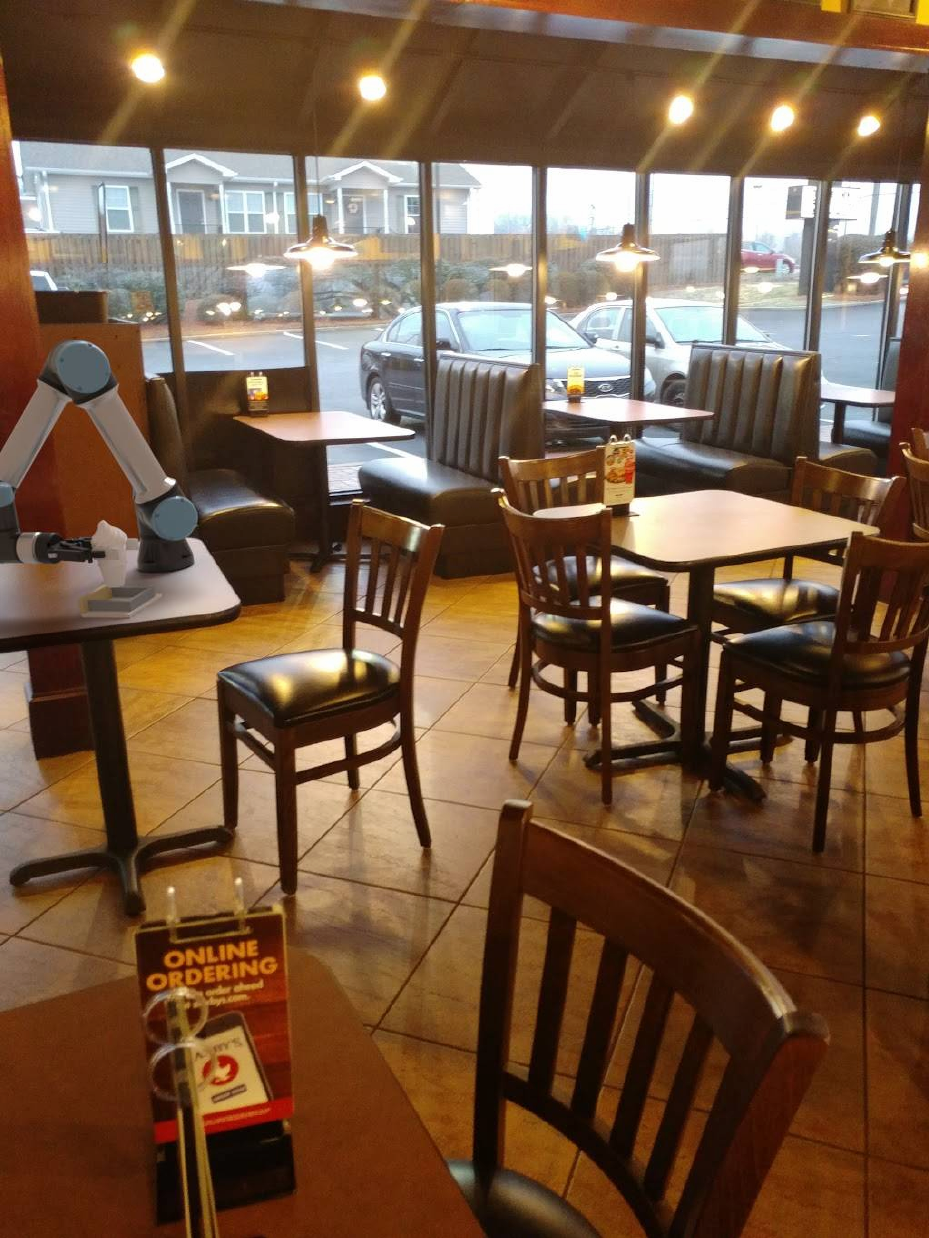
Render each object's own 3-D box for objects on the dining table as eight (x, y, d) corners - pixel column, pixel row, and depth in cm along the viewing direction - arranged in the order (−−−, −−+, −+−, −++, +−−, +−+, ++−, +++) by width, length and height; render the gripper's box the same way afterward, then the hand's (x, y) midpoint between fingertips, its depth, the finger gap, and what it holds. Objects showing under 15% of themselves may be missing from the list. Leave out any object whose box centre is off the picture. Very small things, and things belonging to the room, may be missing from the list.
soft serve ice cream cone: (135, 578, 249) (125, 514, 244) (132, 588, 241) (122, 522, 236) (99, 582, 248) (89, 517, 243) (95, 591, 240) (84, 525, 235)
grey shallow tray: (162, 596, 253) (159, 580, 251) (130, 617, 238) (127, 600, 236) (115, 596, 255) (112, 579, 254) (80, 617, 240) (77, 599, 239)
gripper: (68, 552, 256) (151, 552, 252) (19, 575, 237) (108, 576, 232) (63, 523, 254) (147, 523, 249) (13, 544, 234) (103, 544, 230)
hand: (128, 549), depth 241 cm, fingers closed on soft serve ice cream cone, 8 cm apart
